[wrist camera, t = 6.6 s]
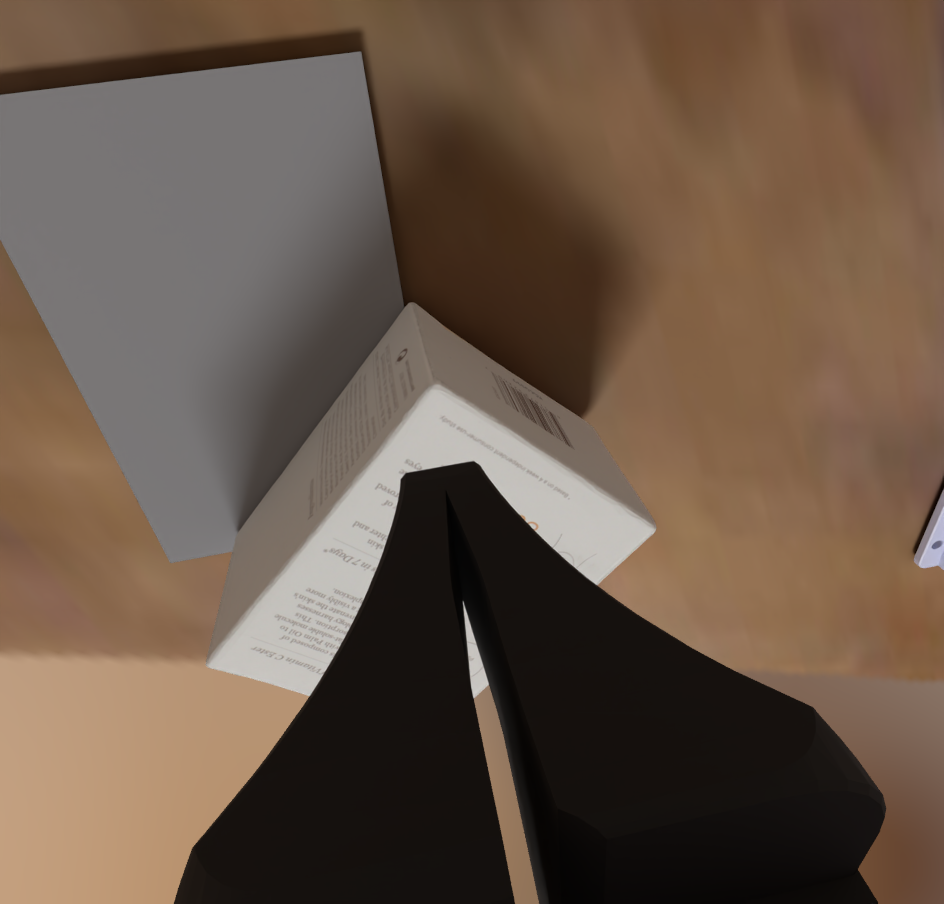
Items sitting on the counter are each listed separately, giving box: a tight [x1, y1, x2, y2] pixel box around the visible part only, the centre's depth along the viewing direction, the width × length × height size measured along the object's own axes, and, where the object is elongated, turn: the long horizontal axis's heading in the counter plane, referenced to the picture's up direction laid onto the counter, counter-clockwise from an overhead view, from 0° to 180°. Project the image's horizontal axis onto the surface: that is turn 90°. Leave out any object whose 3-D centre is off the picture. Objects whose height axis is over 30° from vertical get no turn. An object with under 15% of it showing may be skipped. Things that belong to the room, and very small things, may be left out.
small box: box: [206, 302, 656, 698], centre depth 19 cm, size 8×6×10 cm
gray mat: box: [0, 51, 404, 563], centre depth 18 cm, size 14×10×1 cm
